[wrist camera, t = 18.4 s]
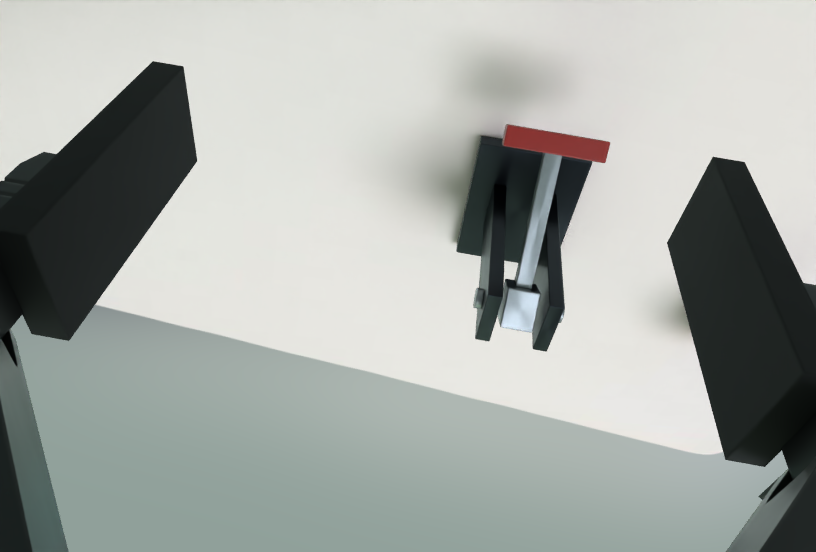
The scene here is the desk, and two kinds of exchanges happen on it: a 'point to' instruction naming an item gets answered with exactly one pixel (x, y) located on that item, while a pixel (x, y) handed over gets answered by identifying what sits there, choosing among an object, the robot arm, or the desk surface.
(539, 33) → the desk surface
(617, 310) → the desk surface
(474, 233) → the bracket
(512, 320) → the lever
